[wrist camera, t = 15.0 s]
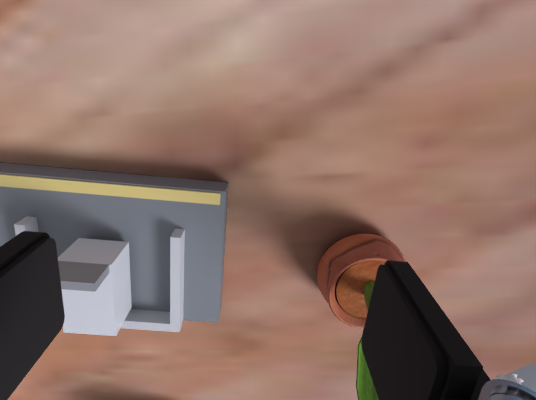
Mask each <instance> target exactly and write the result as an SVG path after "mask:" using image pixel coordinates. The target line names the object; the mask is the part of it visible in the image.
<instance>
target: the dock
mask: <svg viewBox="0 0 536 400" xmlns="http://www.w3.org/2000/svg"><path fill="white" fill-rule="evenodd" d="M228 184H229V183H228V182H217V181H205V180H194V179H183V178H171V177H160V176H148V175H137V174H126V173H114V172H103V171H92V170H80V169H69V168H58V167H46V166H35V165H24V164H12V163H1V162H0V247H1V246H2V245H4V244H5V243H6V242H8V241H9V240H11V239H12V238H14V237H15V236H16V235H18V234H19V233H21V232H23V231H33V232H45V233H48V234H49V236H50V238H53V239H54V240H55V242H56V248H57V256H58V257H59V256H60V255H61V254H62V253H63V252H64V251H65V250H66V249H68V248H69V247H70V246H71V245H72V244H73V243H74V242H75V241H76V240H77V239H78V238H86V239H99V240H111V241H123V242H129V249H130V254H129V257H130V281H131V295H132V298H131V305H132V307H131V309H130V311H129V313H128V315H127V317H126V318H125V320H124V322H123V324H122V326H121V328H127V329H141V330H155V331H169V332H180V329H181V326H182V322H183V320H188V321H201V322H215V323H218V321H219V315H220V310H221V300H222V284H223V267H224V250H225V234H226V217H227V201H228Z"/></svg>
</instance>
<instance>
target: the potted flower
mask: <svg viewBox="0 0 536 400" xmlns="http://www.w3.org/2000/svg"><path fill="white" fill-rule="evenodd" d="M387 260H391V261H404V262H405V260H404V257H403V255H402V253H401V252H400V250H399V249H398V247H397V246H396V245H395V244H394V243H392V242H391V241H390V240H388V239H386V238H384V237H382V236H379V235H374V234H356V235H352V236H348V237H346V238H343V239H341V240H339V241H338V242H336V243H335V244H333V245H332V246H331V247H330V248H329V249H328V250H327V251H326V252H325V254H324V255H323V256H322V258H321V260H320V262H319V265H318V269H317V282H318V286H319V288H320V290H321V292H322V294H323V296H324V298H325V300H326V301H327V302H328V303H329V306H330V308H331V310H332V312H333V313H334V315H335V316H336V317H337V318H338V319H339V320H341V321H342V322H344V323H346V324H348V325H350V326H353V327H357V328H364V326H365V322H366V317H367V313H368V309H369V304H370V300H371V296H372V291H373V287H374V283H375V278H376V274H377V270H378V267H379V265H380V264H381V265H384V264H385V262H386V261H387ZM361 341H362V337H361V340H360V342H359V344H358V359H357V379H356V389H357V395H358V400H379V398H378V395H377V392H376V389H375V387H374V384H373V381H372V378H371V375H370V372H369V369H368V366H367V363H366V360H365V357H364V354H363V351H362V344H361ZM496 377H497V378H498V379H504V380H508V381H512V382H515V383H518V384H520V385H521V382H524V381H523V380H522V379H518V380H517V375H515V374H509V375H508V379H507V378H506V377H505V376H504V375H498V376H496Z"/></svg>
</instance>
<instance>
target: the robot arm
mask: <svg viewBox="0 0 536 400" xmlns="http://www.w3.org/2000/svg"><path fill="white" fill-rule="evenodd" d="M64 319H65V314H64V306H63V298H62V289H61V281H60V273H59V265H58V256H57V248H56V242H55V240H54V239H53V238H50V236H49V234H48V233H45V232H33V231H23V232H21V233H19V234H18V235H16V236H15V237H14V238H12V239H11V240H9V241H8V242H6V243H5V244H4V245H2V246H1V247H0V400H7V399H8V398H9V397H10V395H11V394H12V393H13V391H14V390H15V389H16V388H17V386H18V385H19V384H20V382H21V381H22V380H23V378H24V377H25V376H26V374H27V373H28V372H29V371H30V369H31V368H32V367H33V365H34V364H35V363H36V361H37V360H38V359H39V358H40V356H41V355H42V354H43V352H44V351H45V350H46V348H47V347H48V346H49V344H50V343H51V342H52V341H53V339H54V338H55V337H56V335H57V334H58V333H59V331H60V330H61V328H62V326H63V324H64ZM361 344H362V351H363V354H364V357H365V360H366V363H367V366H368V369H369V372H370V375H371V378H372V381H373V384H374V387H375V389H376V392H377V395H378V398H379V400H536V392H534V391H532V390H530V389H529V388H527V387H525V386H522V385H520V384H518V383H515V382H512V381H508V380H504V379H493V380H490V379H489V377H488V376H487V374H486V373H485V372H484V370H483V369H482V368H483V366H482V365H481V363H480V362H479V361H478V359H477V358H476V356H475V355H474V354H473V352H472V351H471V349H470V348H469V347H468V345H467V344H466V342H465V341H464V340H463V338H462V337H461V336H460V334H459V333H458V331H457V330H456V329H455V327H454V326H453V324H452V323H451V322H450V320H449V319H448V317H447V316H446V315H445V313H444V312H443V310H442V309H441V308H440V306H439V305H438V303H437V302H436V301H435V299H434V298H433V297H432V295H431V294H430V292H429V291H428V290H427V288H426V287H425V285H424V284H423V283H422V281H421V280H420V278H419V277H418V276H417V274H416V273H415V271H414V270H413V269H412V267H411V266H410V264H409V263H408V262H404V261H391V260H387V261H386V262H385V264H384V265H381V264H380V265H379V267H378V270H377V274H376V278H375V283H374V287H373V291H372V296H371V300H370V304H369V309H368V313H367V317H366V322H365V326H364V330H363V335H362V341H361Z"/></svg>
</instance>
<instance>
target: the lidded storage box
mask: <svg viewBox="0 0 536 400" xmlns="http://www.w3.org/2000/svg"><path fill="white" fill-rule="evenodd" d="M129 254H130V249H129V242H123V241H111V240H99V239H86V238H78V239H77V240H76V241H75V242H74V243H73V244H72V245H71V246H70V247H69V248H68V249H66V250H65V251H64V252H63V253H62V254H61V255H60V256H59V257H58V265H59V273H60V281H61V289H62V298H63V306H64V314H65V319H64V324H63V330H64V332H65V333H80V334H94V335H108V336H116V335H117V333H118V331H119V329H120V328H121V326H122V324H123V322H124V320H125V318H126V317H127V315H128V313H129V311H130V309H131V307H132V305H131V298H132V295H131V281H130V257H129Z"/></svg>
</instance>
